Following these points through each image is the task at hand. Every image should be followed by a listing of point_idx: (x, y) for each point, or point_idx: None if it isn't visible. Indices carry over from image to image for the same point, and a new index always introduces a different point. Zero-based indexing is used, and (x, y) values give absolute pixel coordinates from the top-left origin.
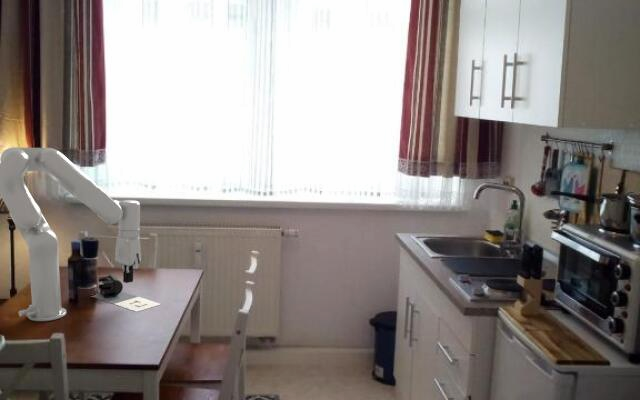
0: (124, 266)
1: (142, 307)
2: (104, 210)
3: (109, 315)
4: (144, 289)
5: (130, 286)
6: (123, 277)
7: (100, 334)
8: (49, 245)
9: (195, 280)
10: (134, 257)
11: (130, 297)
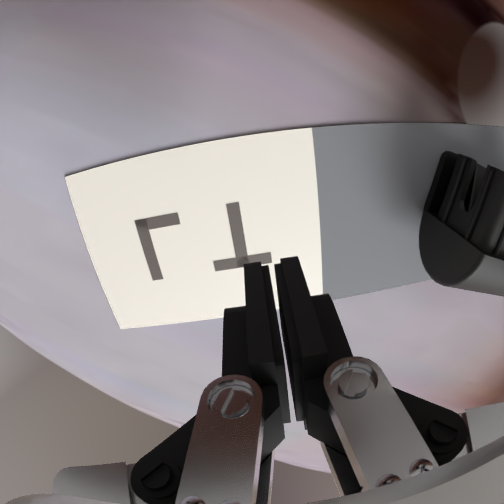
0: (347, 448)
1: (116, 234)
2: None
3: (109, 16)
4: (394, 357)
5: (467, 326)
6: (304, 288)
7: None
8: None
9: (321, 470)
10: None
11: (346, 265)
